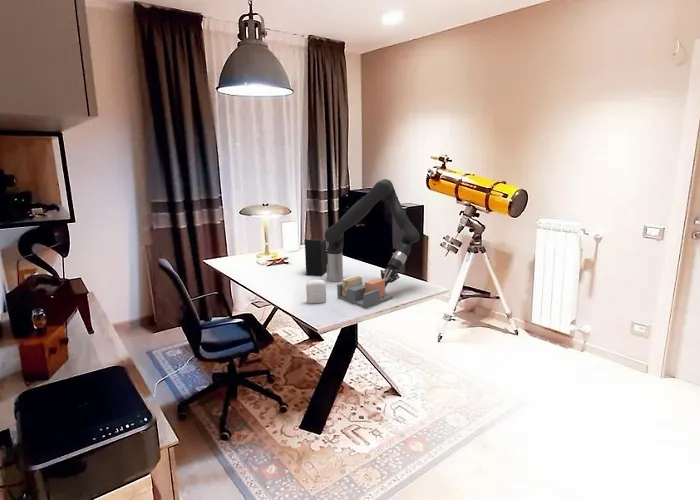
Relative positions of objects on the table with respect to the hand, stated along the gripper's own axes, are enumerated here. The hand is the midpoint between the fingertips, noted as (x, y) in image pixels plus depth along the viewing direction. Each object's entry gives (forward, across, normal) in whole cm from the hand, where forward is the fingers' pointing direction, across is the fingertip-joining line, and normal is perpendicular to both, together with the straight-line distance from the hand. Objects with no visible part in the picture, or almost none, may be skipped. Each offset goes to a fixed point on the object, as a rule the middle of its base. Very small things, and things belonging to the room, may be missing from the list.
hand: (382, 287), depth 230 cm
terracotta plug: (+7, 0, -1) cm, 7 cm away
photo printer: (+25, -20, -16) cm, 36 cm away
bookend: (-1, -64, +10) cm, 64 cm away
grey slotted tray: (+9, -6, -1) cm, 11 cm away
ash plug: (+11, -12, -5) cm, 17 cm away
